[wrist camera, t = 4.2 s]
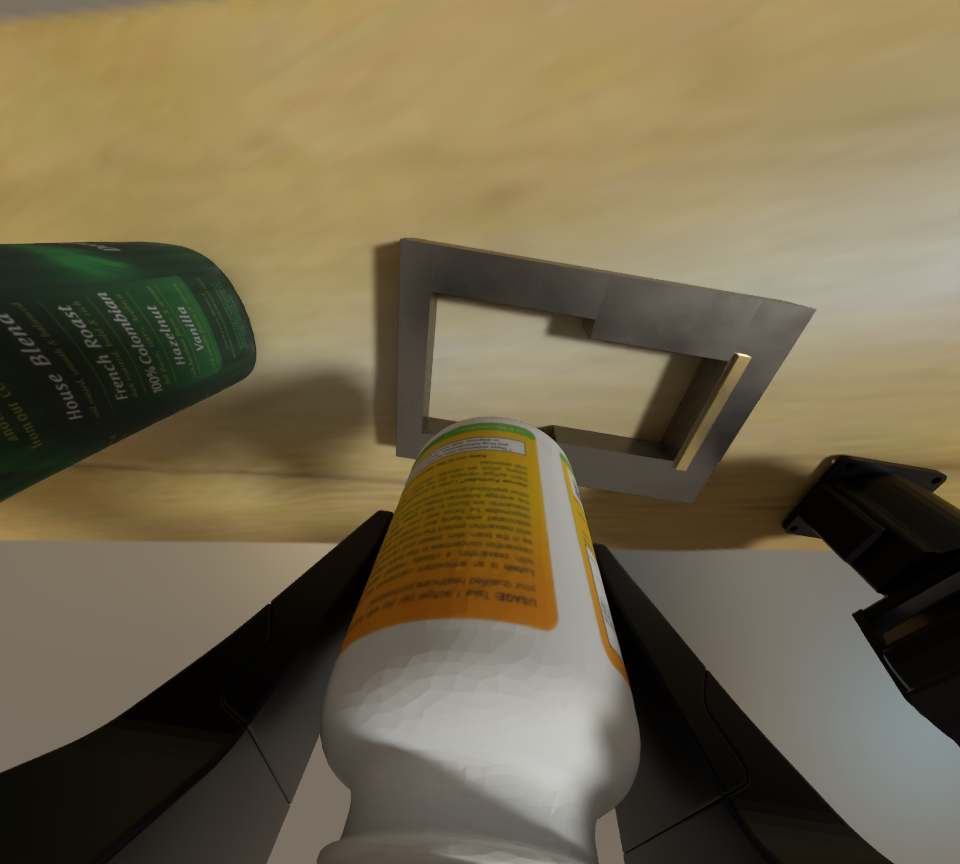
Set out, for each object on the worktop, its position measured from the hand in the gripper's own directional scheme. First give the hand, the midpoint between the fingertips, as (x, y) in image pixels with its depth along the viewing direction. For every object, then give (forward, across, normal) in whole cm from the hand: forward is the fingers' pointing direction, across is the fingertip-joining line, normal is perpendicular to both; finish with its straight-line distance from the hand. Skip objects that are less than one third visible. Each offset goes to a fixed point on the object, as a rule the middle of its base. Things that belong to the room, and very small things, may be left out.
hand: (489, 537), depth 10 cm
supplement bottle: (+3, 0, 0) cm, 3 cm away
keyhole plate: (+12, -4, 0) cm, 13 cm away
